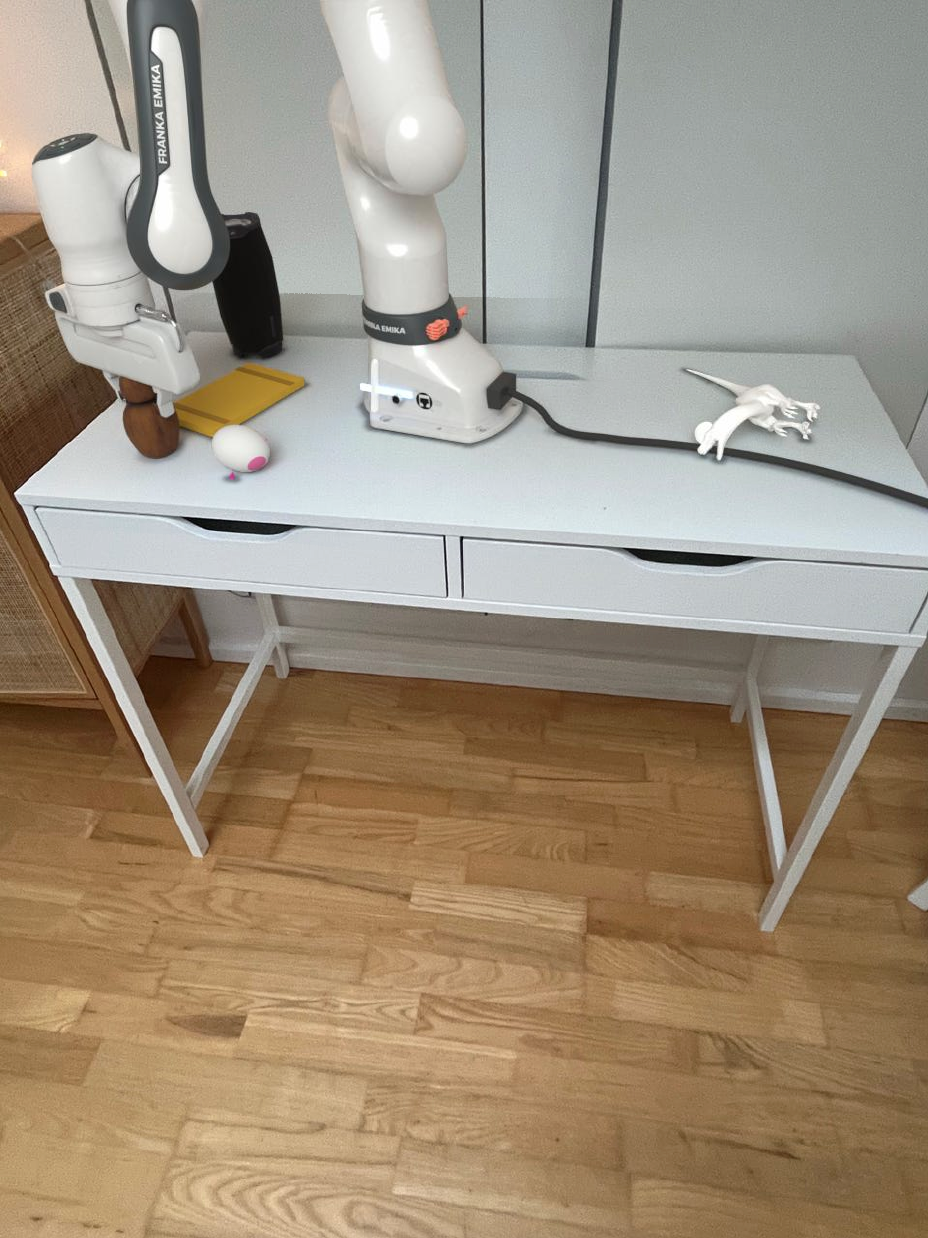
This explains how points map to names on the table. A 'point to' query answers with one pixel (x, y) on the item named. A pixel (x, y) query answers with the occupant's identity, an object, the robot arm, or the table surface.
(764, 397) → the dinosaur
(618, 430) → the table surface
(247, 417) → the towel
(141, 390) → the wooden figurine
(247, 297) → the portable speaker
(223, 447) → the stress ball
